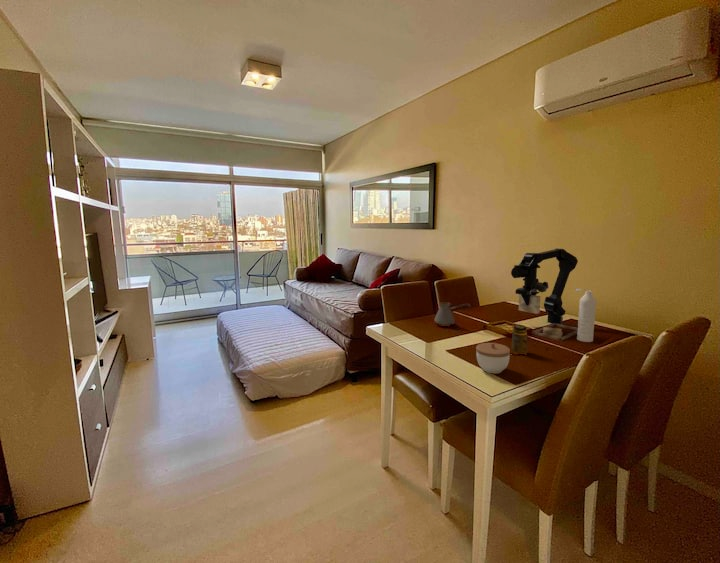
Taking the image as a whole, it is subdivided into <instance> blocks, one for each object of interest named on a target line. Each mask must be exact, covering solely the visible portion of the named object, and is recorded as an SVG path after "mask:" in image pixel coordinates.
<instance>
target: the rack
mask: <svg viewBox="0 0 720 563" xmlns="http://www.w3.org/2000/svg"><path fill="white" fill-rule="evenodd" d="M544 327H550V328H554V327H559V328H560V327H561V328H564V329H569V330H574V331H572V332H570V333H567V334H565V335H562V336H561V337H555V336H551V335H547V334H543V327H541V328H537V329H535V330H533V331H531V335H535V336H540V337H545V338H549V339H552V340H555V341H560V342H562V341H564V340H567V339H569V338H571V337H573V336H575V335H577V332H578V327H576V326H570V325H567V324H557V323H553V324H552V323H549V324H548V325H546V326H544Z"/></svg>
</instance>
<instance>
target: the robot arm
mask: <svg viewBox="0 0 720 563" xmlns="http://www.w3.org/2000/svg"><path fill="white" fill-rule="evenodd" d="M553 258H555V259H556V260H557V261H558V269H559V272H558V274H557V277H556V280H555V283H554V286H553V289H552V291H551V294H550V295H549V296H546V297H545V299H544V302H543V307H544V310H545V313H547V322H546V323H549V324H553V323H557V324H562V325H564V323H563V321H564V320H563V319H564V318H563V316H565V314H566V310H565V309H564V308H563V299H562V297H563V293H564V290H565V287H566V284H567V282H568V279H569V275H570V273H572V271H574V270H575V268H576V266H577V264H578V263H579V262H578V261H579V260H578V257H577V256H574V254H572V253H570V252H568V251H566V249H564V248H558V247H557V248H554V249H551V250H545V251H541V252H526V253H525V254H524V255H523V257H522V259H521V260H520V262H519V263H518V265H517V264H515V265H513V268H512V269H511V271H510V274H511V276H512V278H514V279H520V278H521V279H522V281H524V282H523V284H524V285H522V287H518V288H516V289H515V295H519V294H521V296H522V297H523V299H524V301H525V304H526V305H527V306H529V302H530V297H531V296H532V295H535V296H538V294H540V293H545V292H547V289H549V282H547V281H543V282H540V281H539V278H537V276H538V275H537V274H538V273H537V272H538V269H540V268H541V266H540V265H539V264H541V263H542V262H543V261H545V260H549V259H553Z"/></svg>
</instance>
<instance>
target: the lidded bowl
mask: <svg viewBox="0 0 720 563" xmlns="http://www.w3.org/2000/svg"><path fill="white" fill-rule="evenodd" d="M510 349H511V348H509V347H508V346H507V345H504V344H500V343H497V342H482V343H478V344H477V345H476V347H475V350H476V352H475V353H476V354H475V355H476V361H477V363H478V365H479V367H481V369H482V370H483V371H484V372H485V371H486V372H485V373H487V374H492V373H493V374H494V375H495V374H501V373H502V372H503V371H504V370H505V369H507V367H508V365H509V364H510V363H509V362H510V357H511V356H510V355H511V354H510ZM493 374H492V375H493Z"/></svg>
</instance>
